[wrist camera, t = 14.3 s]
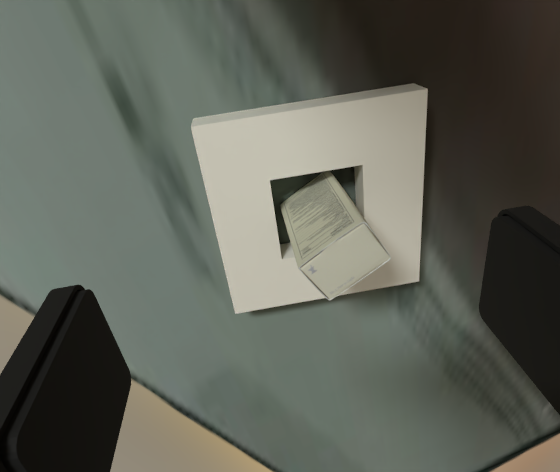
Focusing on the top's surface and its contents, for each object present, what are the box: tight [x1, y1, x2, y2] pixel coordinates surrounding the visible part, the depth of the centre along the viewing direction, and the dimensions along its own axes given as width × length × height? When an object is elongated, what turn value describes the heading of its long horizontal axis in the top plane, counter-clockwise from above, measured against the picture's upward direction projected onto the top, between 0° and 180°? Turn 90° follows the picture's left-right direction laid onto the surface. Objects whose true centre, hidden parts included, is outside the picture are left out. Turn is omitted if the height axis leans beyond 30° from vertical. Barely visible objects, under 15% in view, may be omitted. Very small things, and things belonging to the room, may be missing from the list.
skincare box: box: [280, 170, 391, 300], centre depth 36 cm, size 6×4×12 cm
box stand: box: [191, 83, 428, 314], centre depth 40 cm, size 20×20×3 cm
